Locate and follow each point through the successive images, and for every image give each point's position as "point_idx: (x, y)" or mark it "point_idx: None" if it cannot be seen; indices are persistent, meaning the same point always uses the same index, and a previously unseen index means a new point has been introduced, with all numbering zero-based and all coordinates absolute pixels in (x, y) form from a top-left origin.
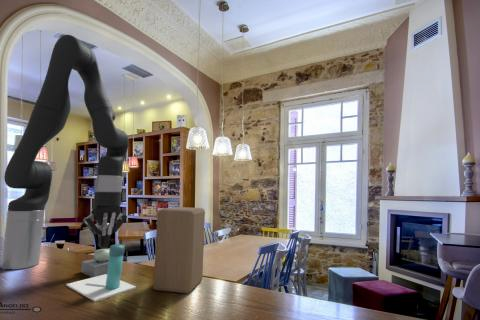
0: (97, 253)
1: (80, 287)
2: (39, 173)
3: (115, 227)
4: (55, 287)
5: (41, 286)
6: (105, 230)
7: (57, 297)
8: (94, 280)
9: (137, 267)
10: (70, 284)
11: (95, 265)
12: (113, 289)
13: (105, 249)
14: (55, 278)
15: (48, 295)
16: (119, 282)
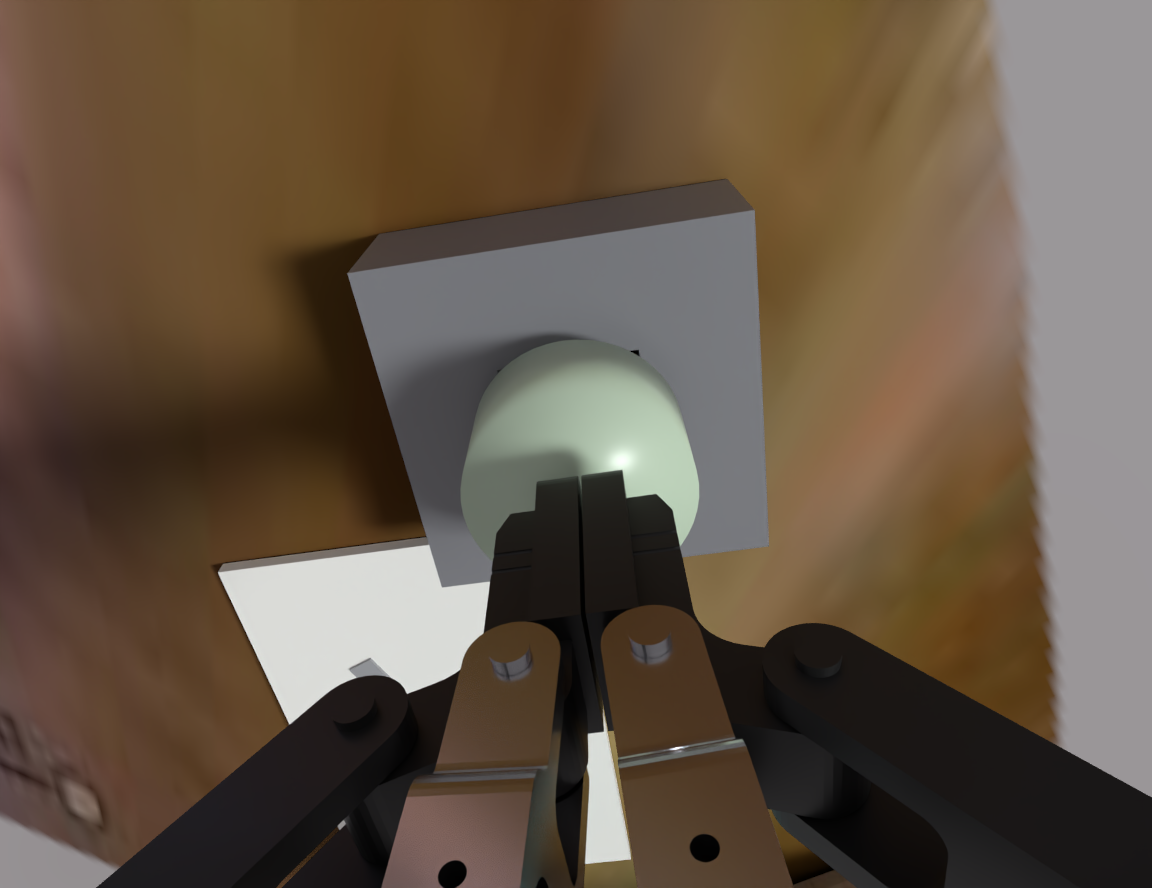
0: (484, 540)
1: (314, 693)
2: None
3: (836, 865)
4: (142, 547)
5: (22, 454)
6: (574, 844)
7: (173, 725)
8: (433, 624)
9: (933, 470)
10: (248, 600)
11: (458, 551)
12: None
13: (637, 452)
14: (114, 292)
15: (112, 666)
16: None
